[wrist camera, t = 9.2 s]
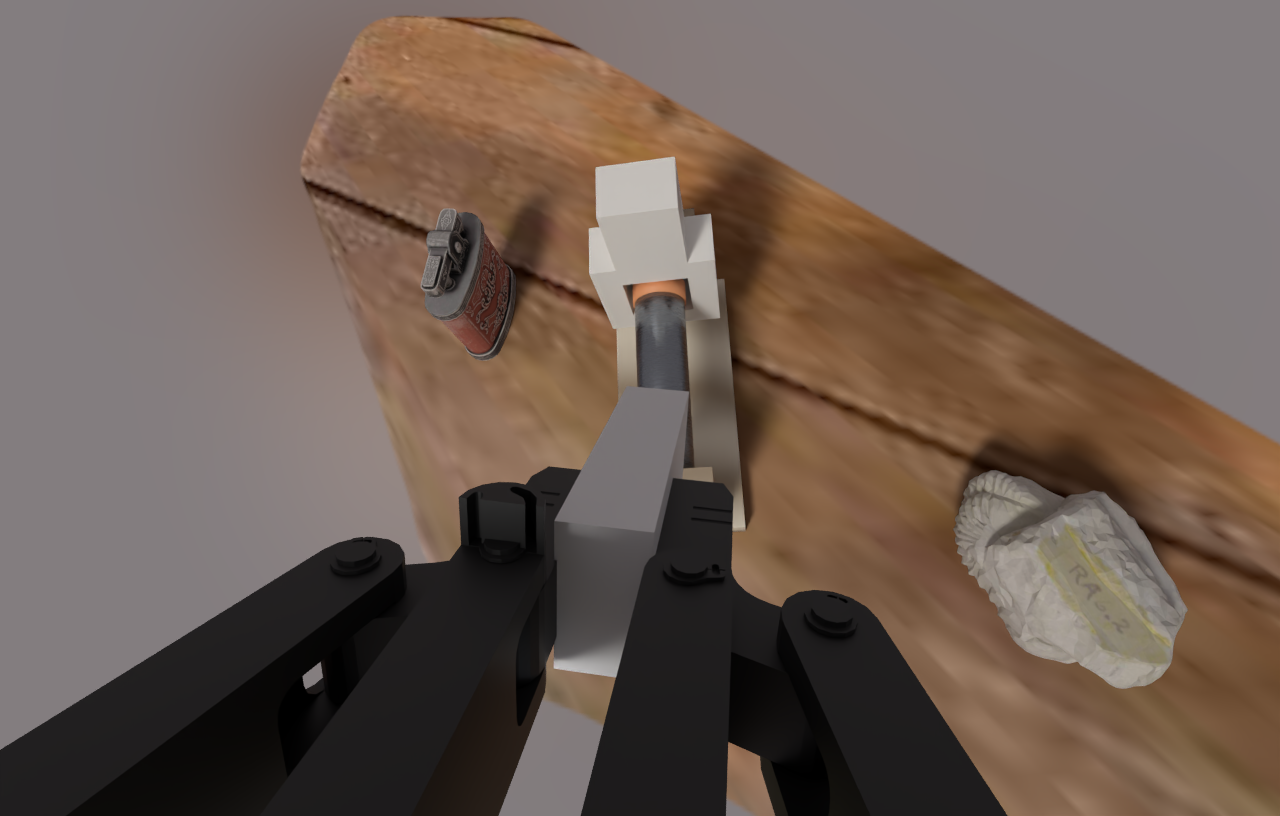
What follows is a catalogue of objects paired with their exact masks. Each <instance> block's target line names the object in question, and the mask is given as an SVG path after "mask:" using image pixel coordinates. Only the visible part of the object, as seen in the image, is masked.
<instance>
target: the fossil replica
mask: <svg viewBox="0 0 1280 816" xmlns="http://www.w3.org/2000/svg"><path fill="white" fill-rule="evenodd" d="M963 495H964V500H963V501H962V502H961V503H962V506H961V507H960V509H959V514H958V515H957V516H956V517H955V521H956V523H957V524H956V525H955V527H954V529H953V530H954V532H955V534H956V538H955V542H956V544H958V545H959V547H958V550H957V552H958V554H960V555H962V562H961V563H962V564H964V565H967V567H968V572H969V575H972V576H975V577H976V579H977V580H978V583H979V586H980V587H981V588H983V589H985V590H986V591H987V593H988V594H989V599H990V601H991V602H993V603H995V605H996V606H997V608H998V616H999V617H1001V618H1002V619H1003V621H1004V623H1005V625H1006V628H1007V630H1008V631H1009V633H1010V635H1011V637H1012V639H1013V640H1014V641H1015V642H1016V643H1017V644H1018V645H1019V646H1020V647H1021V648H1023V649H1024V650H1025V651H1026V652H1028V653H1031V654H1033V655H1035V656H1038V657H1041V658H1045V659H1050V660H1056V661H1059V662H1063V663H1068V664H1069V663H1073V662H1079V664H1080V665H1081V666H1083V667H1085V668H1087V669H1089V670H1091V671H1092V672H1094V673H1095V674H1097V675H1098V676H1100V677H1101V678H1103V679H1104V680H1105V681H1106V682H1107V683H1108V684H1110V685H1112V686H1114V687H1116V688H1122V689H1125V688H1131V687H1134V686H1146V685H1148V684H1151V683H1152V682H1154V681H1155V680H1156V679H1158V678H1160V677H1161V676H1162V675H1163V673H1164V672H1165V671H1166V670H1167V668H1168V667H1169V666H1170V663H1171V661H1172V655H1173V645H1174V640H1175V636H1176V634H1177V632H1178V630H1179V629H1180V627H1181V625H1182V623H1183V620H1184V617H1185V613H1186V612H1187V610H1188V609H1187V608H1186V606H1185V604H1184V603H1183V601H1182V599H1181V597H1180V594H1179V592H1178V589H1177V587H1176V585H1175V583H1174V582H1173V580H1172V579H1171V578H1170V576H1169V575H1168V574H1167V572H1166V571H1165V569H1164V568H1163V566H1162V565H1161V563H1160V561H1159V560H1158V558H1157V556H1156V555H1155V553H1154V551H1153V549H1152V546H1151V544H1150V542H1149V540H1148V539H1147V537H1146V536H1145V534H1144V532H1143V530H1141V529H1140V528H1139V526H1138V524H1137V522H1136V520H1135V519H1134V518H1133V517H1131V516H1129V515H1128V514H1127V513H1126V511H1124V510H1123V509H1122V508H1121V507H1120V506H1119V505H1118V504H1117V503H1115V502H1114V501H1112V500H1111V499H1110V498H1109V497H1108V496H1107V495H1106V493H1104V492H1098V491H1094V490H1093V491H1090V492H1088V493H1084V494H1077V495H1069V496H1068V497H1067V498H1063V497H1061V496H1059V495H1056V494H1054V493H1052V492H1050V491H1048V490H1046V489H1045V488H1043V487H1041V486H1040V485H1038V484H1037V483H1035V482H1034V481H1032V480H1030V479H1027V478H1023V477H1022V476H1017V477H1014V476H1009V475H1008V474H1006V473H1002V472H1000V471H997V470H990V471H989V472H987V473H982V474H981V475H979V476H976V477H974V478H973V479H972V480H970V481H969V484H968V487H967V488H966V489H965V491H964V494H963Z"/></svg>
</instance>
